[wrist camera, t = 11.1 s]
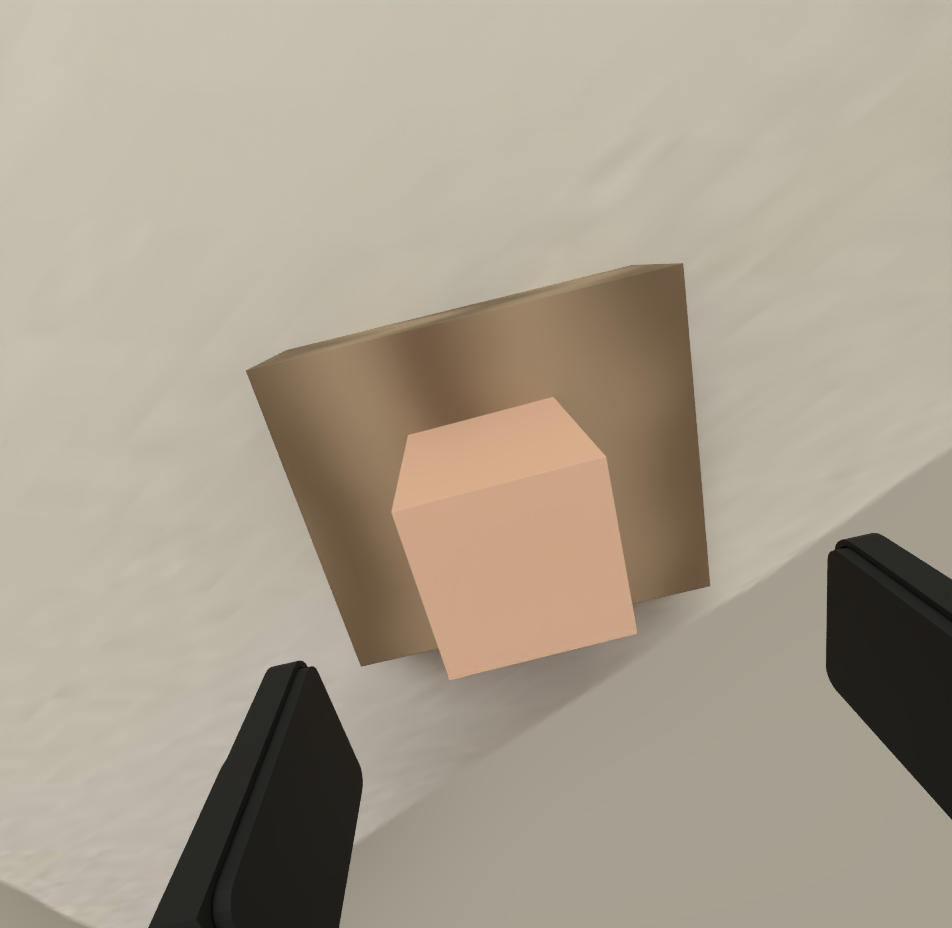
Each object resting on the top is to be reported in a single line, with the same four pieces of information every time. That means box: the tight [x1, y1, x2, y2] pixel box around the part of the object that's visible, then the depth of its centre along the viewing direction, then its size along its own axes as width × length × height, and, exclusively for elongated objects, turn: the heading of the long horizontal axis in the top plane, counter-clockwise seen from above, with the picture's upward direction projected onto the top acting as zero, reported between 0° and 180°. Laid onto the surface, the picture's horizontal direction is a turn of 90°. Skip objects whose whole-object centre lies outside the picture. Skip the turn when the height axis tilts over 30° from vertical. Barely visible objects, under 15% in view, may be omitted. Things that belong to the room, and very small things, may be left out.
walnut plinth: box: [246, 263, 710, 666], centre depth 21 cm, size 14×12×5 cm
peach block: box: [391, 397, 637, 680], centre depth 15 cm, size 5×5×6 cm
